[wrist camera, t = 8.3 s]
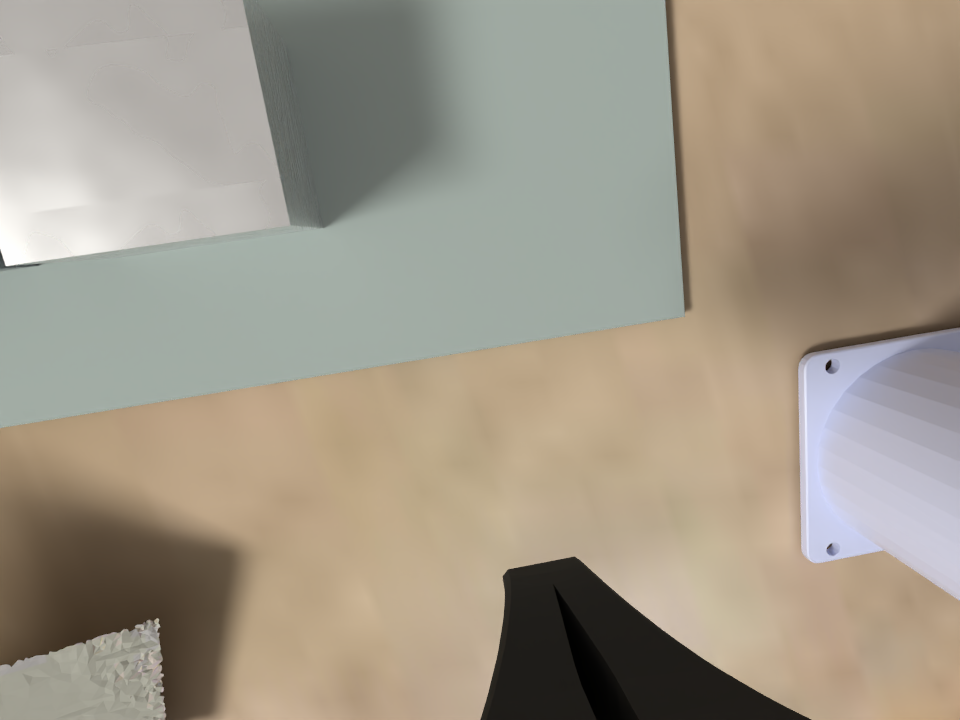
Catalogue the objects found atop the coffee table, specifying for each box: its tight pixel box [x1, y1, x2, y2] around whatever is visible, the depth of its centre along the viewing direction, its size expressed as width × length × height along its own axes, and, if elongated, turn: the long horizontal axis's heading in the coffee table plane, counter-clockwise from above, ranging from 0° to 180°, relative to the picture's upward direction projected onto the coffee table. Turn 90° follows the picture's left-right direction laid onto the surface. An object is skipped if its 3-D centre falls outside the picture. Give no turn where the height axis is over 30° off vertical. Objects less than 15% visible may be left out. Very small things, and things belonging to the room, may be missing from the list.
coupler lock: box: [0, 0, 323, 266], centre depth 14 cm, size 6×5×4 cm
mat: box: [0, 0, 685, 428], centre depth 17 cm, size 22×12×1 cm, turn 98°
